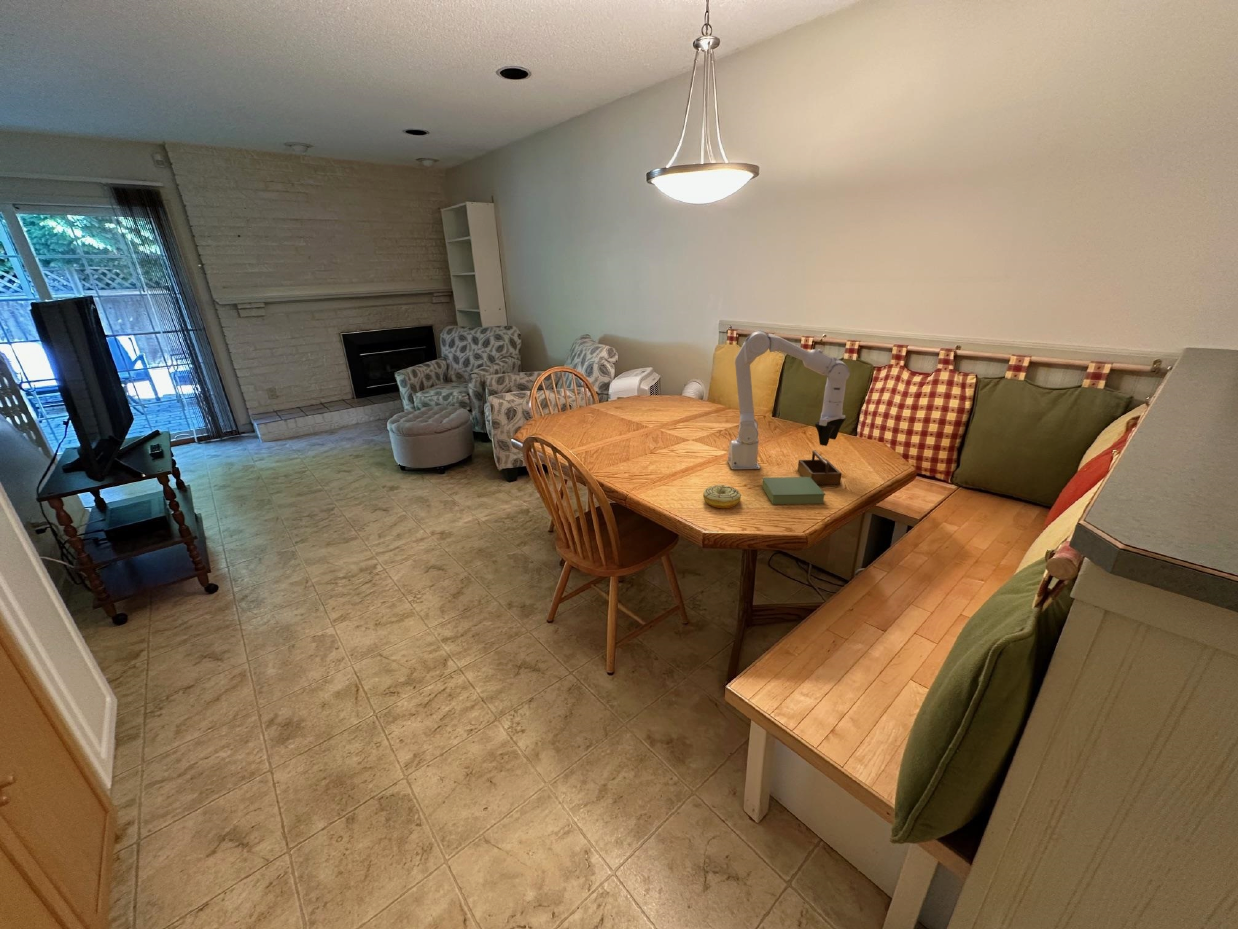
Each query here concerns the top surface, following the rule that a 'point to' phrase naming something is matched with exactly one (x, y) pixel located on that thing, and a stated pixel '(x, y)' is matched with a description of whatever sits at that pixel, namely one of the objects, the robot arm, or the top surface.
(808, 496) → the green flat block
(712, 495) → the decorated donut
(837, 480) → the basket
